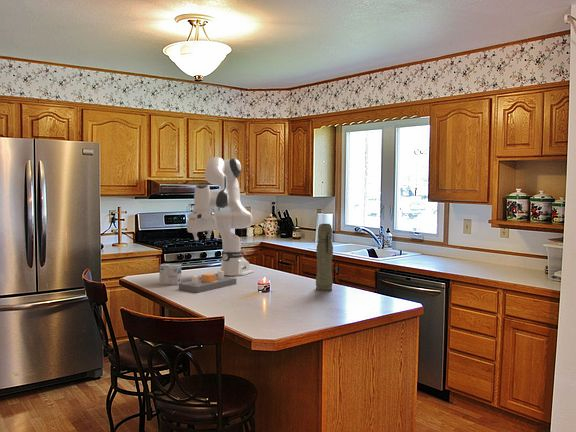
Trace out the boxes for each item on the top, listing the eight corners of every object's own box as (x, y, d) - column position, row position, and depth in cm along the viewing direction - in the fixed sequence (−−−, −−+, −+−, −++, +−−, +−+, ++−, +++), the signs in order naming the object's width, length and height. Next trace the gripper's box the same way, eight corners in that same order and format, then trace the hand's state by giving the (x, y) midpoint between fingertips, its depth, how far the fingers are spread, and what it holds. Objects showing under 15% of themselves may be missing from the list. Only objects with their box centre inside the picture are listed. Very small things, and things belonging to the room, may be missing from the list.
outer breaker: (195, 283, 277) (195, 275, 276) (198, 284, 275) (198, 276, 275) (191, 284, 275) (191, 276, 275) (195, 284, 273) (195, 276, 273)
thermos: (323, 292, 273) (324, 225, 270) (311, 288, 283) (312, 223, 280) (337, 290, 277) (338, 224, 275) (324, 286, 287) (325, 222, 285)
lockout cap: (208, 279, 287) (208, 273, 287) (215, 280, 284) (215, 274, 284) (201, 281, 283) (201, 274, 282) (208, 282, 280) (208, 275, 279)
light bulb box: (181, 282, 293) (181, 263, 292) (178, 285, 286) (178, 265, 286) (163, 282, 294) (163, 263, 294) (159, 284, 288) (159, 264, 287)
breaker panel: (217, 280, 300) (217, 275, 299) (236, 283, 292) (236, 278, 291) (178, 289, 275) (178, 283, 275) (197, 292, 267) (197, 286, 267)
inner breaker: (220, 278, 293) (220, 270, 293) (224, 278, 292) (224, 271, 291) (217, 278, 291) (217, 271, 291) (221, 279, 290) (221, 271, 289)
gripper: (210, 212, 297) (210, 236, 299) (185, 215, 280) (185, 240, 282) (219, 213, 294) (219, 237, 295) (193, 216, 277) (193, 241, 278)
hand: (202, 239), depth 288 cm, fingers open, 8 cm apart
